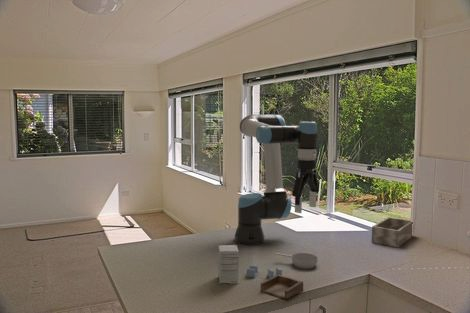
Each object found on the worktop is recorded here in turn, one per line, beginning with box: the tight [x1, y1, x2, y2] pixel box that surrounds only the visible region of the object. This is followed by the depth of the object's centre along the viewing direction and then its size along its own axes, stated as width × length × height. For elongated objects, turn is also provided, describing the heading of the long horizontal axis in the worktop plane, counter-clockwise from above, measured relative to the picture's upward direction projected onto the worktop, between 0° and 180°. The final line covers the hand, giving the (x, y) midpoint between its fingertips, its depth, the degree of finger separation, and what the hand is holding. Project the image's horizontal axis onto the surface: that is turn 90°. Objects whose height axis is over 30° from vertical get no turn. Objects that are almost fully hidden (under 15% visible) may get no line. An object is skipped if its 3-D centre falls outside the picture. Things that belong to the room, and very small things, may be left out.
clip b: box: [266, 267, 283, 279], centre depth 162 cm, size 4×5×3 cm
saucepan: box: [275, 252, 319, 270], centre depth 177 cm, size 11×18×4 cm, turn 71°
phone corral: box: [371, 216, 413, 248], centre depth 214 cm, size 13×25×8 cm, turn 141°
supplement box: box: [217, 244, 240, 285], centre depth 158 cm, size 7×7×13 cm
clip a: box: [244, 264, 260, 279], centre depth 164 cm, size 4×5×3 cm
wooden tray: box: [260, 274, 304, 301], centre depth 149 cm, size 11×11×3 cm
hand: (305, 209), depth 174 cm, fingers open, 13 cm apart
